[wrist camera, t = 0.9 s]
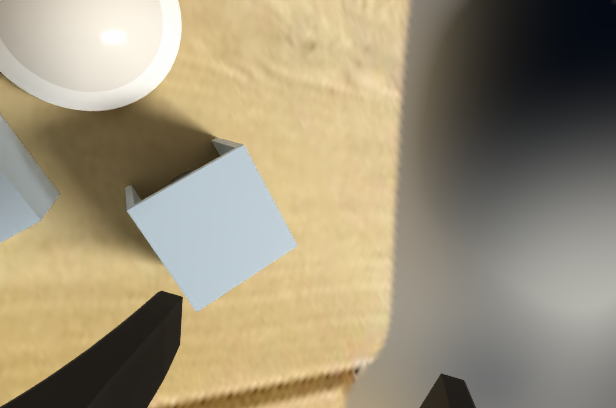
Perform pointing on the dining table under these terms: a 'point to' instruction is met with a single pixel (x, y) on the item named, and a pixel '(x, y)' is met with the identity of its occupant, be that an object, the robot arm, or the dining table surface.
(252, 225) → the cover
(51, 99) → the dish
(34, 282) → the dining table surface
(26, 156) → the cover
